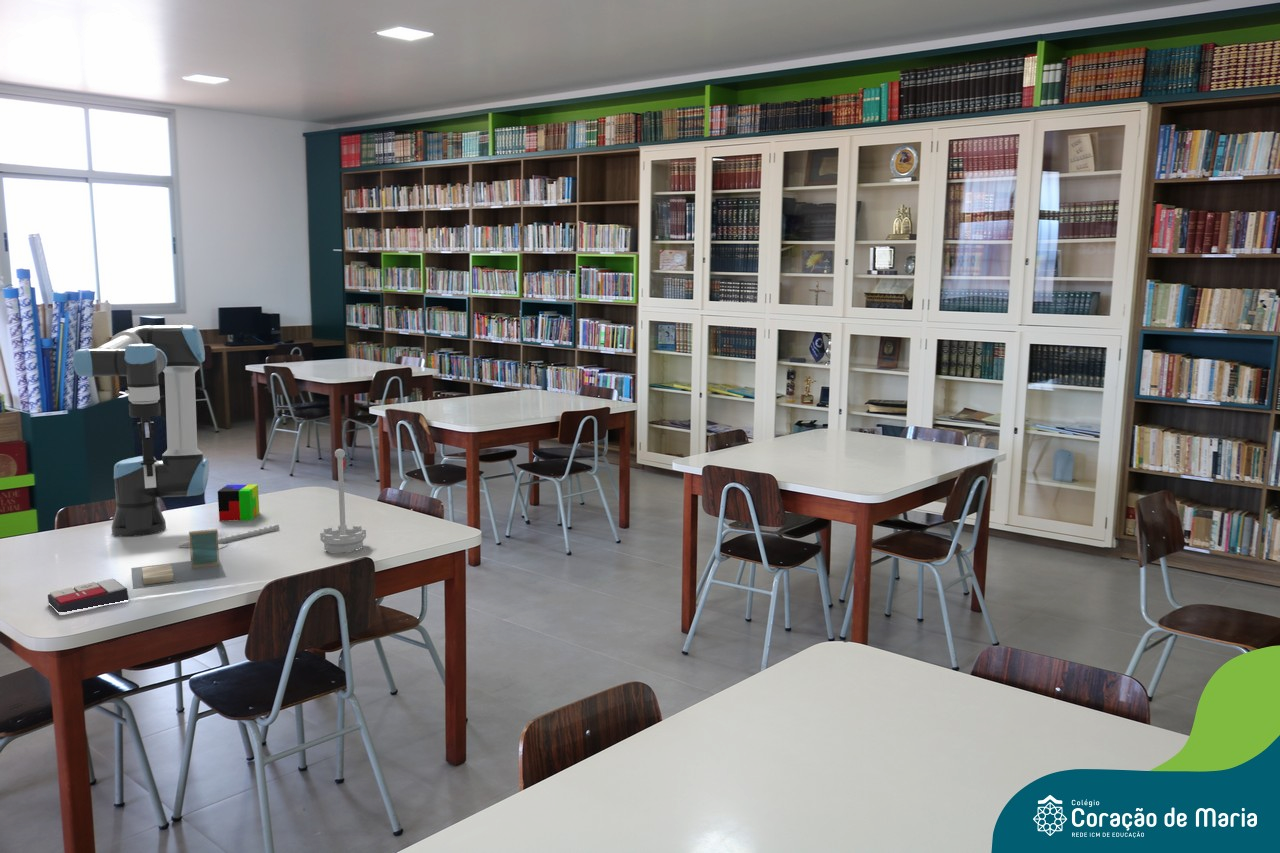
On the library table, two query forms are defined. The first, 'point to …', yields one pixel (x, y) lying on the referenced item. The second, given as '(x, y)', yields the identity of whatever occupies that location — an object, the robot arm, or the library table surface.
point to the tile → (157, 574)
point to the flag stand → (342, 521)
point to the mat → (180, 574)
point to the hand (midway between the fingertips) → (150, 487)
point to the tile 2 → (204, 548)
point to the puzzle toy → (238, 502)
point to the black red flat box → (88, 595)
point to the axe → (240, 536)
